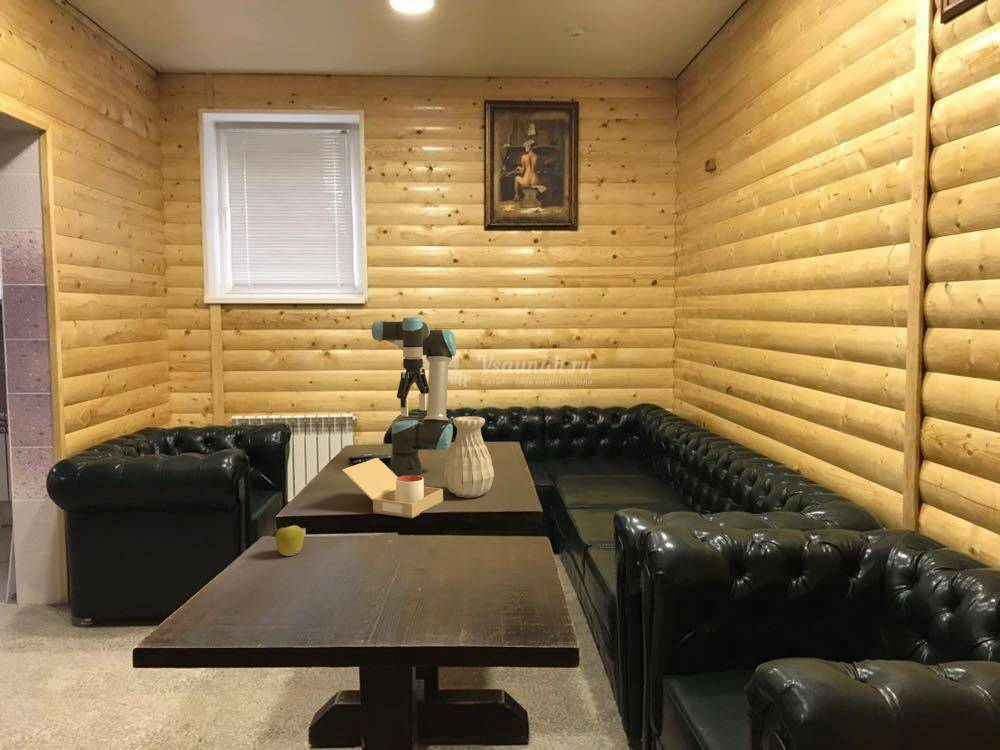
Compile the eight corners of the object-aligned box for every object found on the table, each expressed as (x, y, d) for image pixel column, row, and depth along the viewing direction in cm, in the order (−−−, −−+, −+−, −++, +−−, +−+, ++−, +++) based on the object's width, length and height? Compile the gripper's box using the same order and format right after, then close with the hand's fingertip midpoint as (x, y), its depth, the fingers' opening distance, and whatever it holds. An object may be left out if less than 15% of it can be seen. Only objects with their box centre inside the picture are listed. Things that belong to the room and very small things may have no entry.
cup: (392, 508, 238) (391, 481, 237) (401, 501, 248) (401, 474, 247) (418, 510, 236) (418, 482, 235) (427, 502, 246) (427, 476, 245)
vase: (451, 486, 272) (451, 414, 269) (499, 489, 268) (499, 415, 265) (436, 499, 252) (436, 421, 250) (488, 502, 248) (488, 423, 246)
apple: (306, 553, 192) (295, 521, 190) (279, 563, 191) (267, 531, 189) (310, 544, 199) (299, 513, 198) (283, 553, 198) (272, 523, 197)
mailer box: (406, 497, 255) (406, 484, 255) (443, 502, 249) (442, 488, 249) (373, 512, 235) (372, 499, 235) (412, 518, 229) (411, 504, 228)
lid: (406, 484, 255) (405, 486, 255) (377, 457, 259) (376, 458, 260) (372, 499, 235) (371, 500, 235) (342, 469, 239) (341, 470, 239)
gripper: (420, 354, 265) (421, 407, 268) (386, 360, 242) (387, 417, 245) (437, 355, 262) (438, 408, 265) (404, 361, 239) (405, 419, 242)
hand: (413, 413), depth 255 cm, fingers open, 13 cm apart
